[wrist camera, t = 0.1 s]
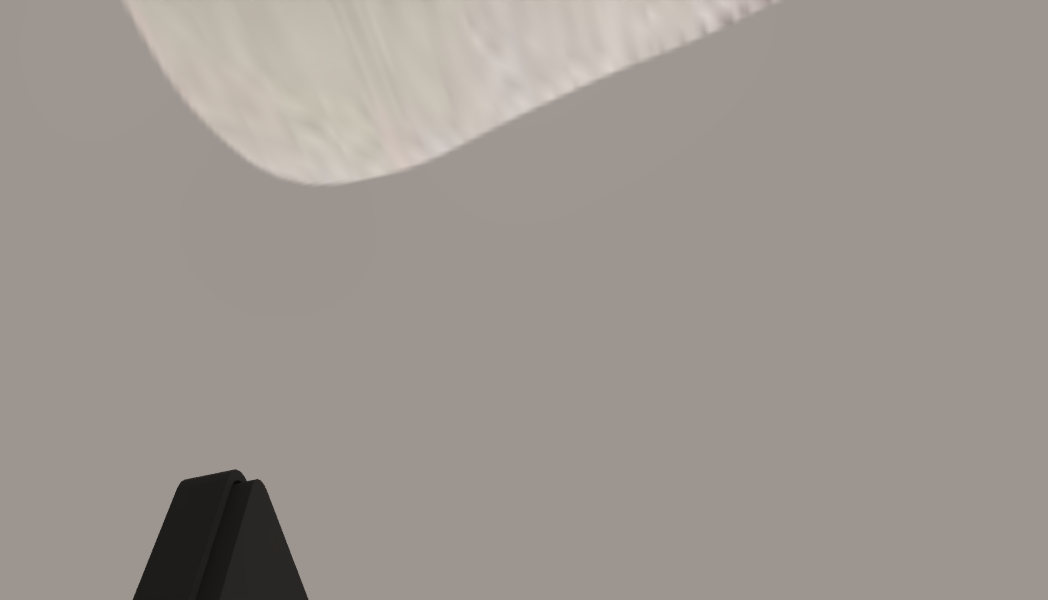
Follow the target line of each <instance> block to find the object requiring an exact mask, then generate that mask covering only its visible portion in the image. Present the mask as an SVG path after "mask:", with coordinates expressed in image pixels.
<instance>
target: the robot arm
mask: <svg viewBox="0 0 1048 600" xmlns="http://www.w3.org/2000/svg"><path fill="white" fill-rule="evenodd" d="M133 600H308V598H307V595H306V592H305V589H304V587H303V584H302V582H301V579H300V576H299V574H298V571H297V568H296V566H295V563H294V561H293V558H292V556H291V553H290V550H289V547H288V545H287V543H286V540H285V537H284V534H283V532H282V529H281V526H280V524H279V521H278V519H277V516H276V513H275V511H274V508H273V506H272V503H271V501H270V498H269V495H268V493H267V490H266V488H265V486H264V484H263V483H262V482H261V481H260V480H258V479H256V480H251V481H246V479H245V477H244V475H243V474H242V473H241V472H240V471H238V470H230V471H226V472H220V473H215V474H211V475H206V476H201V477H196V478H191V479H186V480H184V481H182V482H181V483H180V484H179V486H178V488H177V490H176V493H175V495H174V498H173V500H172V503H171V505H170V508H169V510H168V513H167V515H166V518H165V520H164V523H163V525H162V528H161V530H160V533H159V535H158V538H157V540H156V543H155V545H154V548H153V550H152V553H151V555H150V558H149V560H148V563H147V565H146V568H145V570H144V573H143V576H142V578H141V580H140V583H139V585H138V588H137V590H136V593H135V595H134V598H133Z"/></svg>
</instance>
